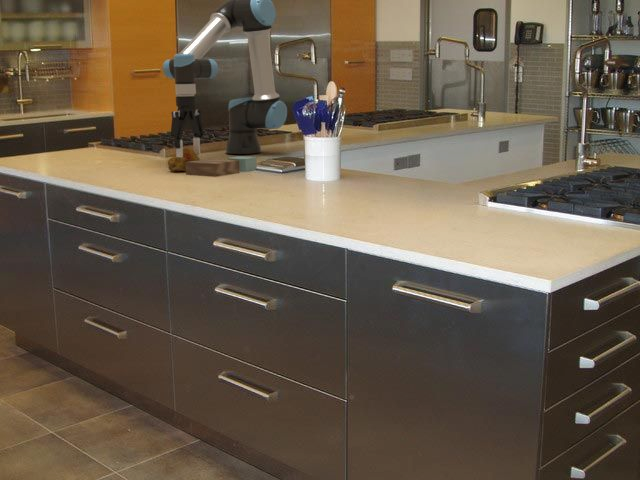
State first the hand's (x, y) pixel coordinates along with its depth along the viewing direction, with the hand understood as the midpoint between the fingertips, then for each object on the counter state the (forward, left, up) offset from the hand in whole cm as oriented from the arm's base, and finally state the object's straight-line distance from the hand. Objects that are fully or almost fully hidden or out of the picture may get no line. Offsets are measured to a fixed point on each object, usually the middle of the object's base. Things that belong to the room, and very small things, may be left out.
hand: (188, 155), depth 336 cm
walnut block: (+1, +13, -6) cm, 14 cm away
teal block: (-13, +15, -6) cm, 21 cm away
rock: (-3, 0, -6) cm, 6 cm away
